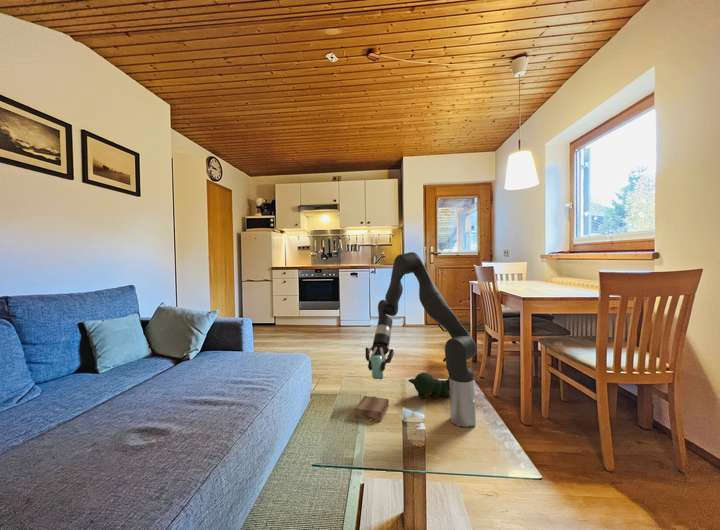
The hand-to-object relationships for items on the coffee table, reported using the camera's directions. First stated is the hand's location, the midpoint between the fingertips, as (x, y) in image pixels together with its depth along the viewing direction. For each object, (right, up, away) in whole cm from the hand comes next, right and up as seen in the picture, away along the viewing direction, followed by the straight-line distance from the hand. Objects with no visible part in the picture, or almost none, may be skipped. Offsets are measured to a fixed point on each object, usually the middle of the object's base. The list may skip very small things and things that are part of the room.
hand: (375, 370), depth 138 cm
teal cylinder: (+1, -4, +2) cm, 5 cm away
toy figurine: (+28, -13, +4) cm, 31 cm away
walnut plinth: (-2, -15, -8) cm, 17 cm away
